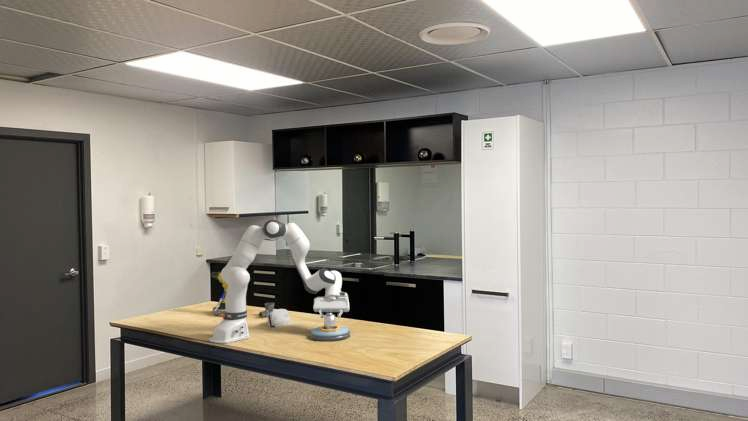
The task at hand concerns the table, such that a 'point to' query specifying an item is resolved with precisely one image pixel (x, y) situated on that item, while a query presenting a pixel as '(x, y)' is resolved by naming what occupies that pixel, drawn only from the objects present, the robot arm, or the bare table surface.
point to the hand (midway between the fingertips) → (330, 317)
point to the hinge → (278, 318)
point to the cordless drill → (221, 304)
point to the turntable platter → (330, 331)
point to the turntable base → (329, 338)
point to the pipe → (267, 309)
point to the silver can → (329, 321)
